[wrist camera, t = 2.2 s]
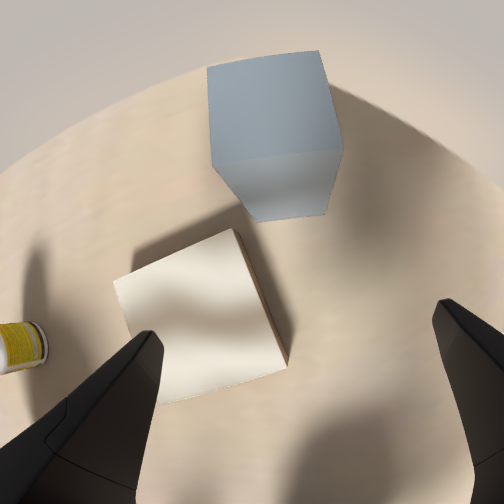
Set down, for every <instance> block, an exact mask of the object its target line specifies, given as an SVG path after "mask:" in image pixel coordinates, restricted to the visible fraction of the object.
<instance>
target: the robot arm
mask: <svg viewBox="0 0 504 504" xmlns="http://www.w3.org/2000/svg"><path fill="white" fill-rule="evenodd" d="M432 323H433V328H434V331H435V335H436V339H437V342H438V346H439V350H440V354H441V358H442V362H443V365H444V368H445V371H446V373H447V376H448V379H449V382H450V385H451V388H452V391H453V394H454V397H455V400H456V403H457V407H458V410H459V413H460V416H461V420H462V423H463V427H464V430H465V434H466V438H467V442H468V446H469V450H470V454H471V458H472V462H473V466H474V472H475V482H474V488H473V493H472V498H471V502H470V504H504V335H503V334H502V333H501V332H499V331H498V330H496V329H495V328H493V327H492V326H491V325H489V324H488V323H486V322H485V321H483V320H482V319H480V318H479V317H477V316H476V315H474V314H473V313H472V312H470V311H469V310H467V309H466V308H464V307H463V306H461V305H460V304H458V303H456V302H455V301H453V300H452V299H450V298H447V299H442V300H439V301H438V303H437V306H436V308H435V311H434V314H433V318H432ZM163 358H164V345H163V343H162V342H161V340H160V339H159V337H158V336H157V334H156V333H155V331H153V330H143V331H141V332H140V333H139V334H137V335H136V336H135V337H134V338H133V339H132V340H131V341H129V342H128V343H127V344H126V345H125V346H124V347H123V348H121V349H120V350H119V351H118V352H117V353H116V354H115V355H113V356H112V357H111V358H110V359H109V360H108V361H107V362H105V363H104V364H103V365H102V366H101V367H100V368H99V369H97V370H96V371H95V372H94V373H93V374H92V375H91V376H89V377H88V378H87V379H86V380H85V381H84V382H83V383H82V384H80V385H79V386H78V387H77V388H76V389H75V390H74V391H73V392H71V393H70V394H69V395H68V397H65V398H64V399H63V400H62V401H61V402H60V403H59V404H57V405H56V406H55V407H54V408H53V409H51V410H50V411H49V412H48V413H47V414H45V415H44V416H43V417H42V418H40V419H39V420H38V421H36V422H35V423H34V424H32V425H31V426H30V427H28V428H27V429H26V430H24V431H23V432H22V433H20V434H19V435H18V436H16V437H15V438H14V439H12V440H11V441H10V442H8V443H7V444H6V445H4V446H3V447H2V448H0V504H136V499H135V497H136V490H137V485H138V480H139V475H140V470H141V465H142V461H143V456H144V452H145V447H146V443H147V438H148V434H149V429H150V425H151V421H152V417H153V412H154V408H155V404H156V400H157V396H158V392H159V387H160V381H161V373H162V365H163Z"/></svg>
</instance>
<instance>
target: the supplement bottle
mask: <svg viewBox="0 0 504 504" xmlns="http://www.w3.org/2000/svg"><path fill="white" fill-rule="evenodd" d="M47 354H48V344H47V340H46V337H45V334H44V332H43V331H42V329H41V328H40V327H39V326H38V325H37V324H36V323H34V322H20V323H9V324H0V375H4V374H8V373H12V372H16V371H20V370H24V369H28V368H32V367H36V366H39V365H42V364H43V363H44V362H45V360H46V358H47Z"/></svg>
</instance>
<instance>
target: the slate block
mask: <svg viewBox="0 0 504 504" xmlns="http://www.w3.org/2000/svg"><path fill="white" fill-rule="evenodd" d="M207 83H208V105H209V124H210V142H211V158H212V166H213V168H214V169H215V170H216V171H217V173H218V174H219V175H220V176H221V178H222V179H223V180H224V181H225V183H226V184H227V185H228V186H229V188H230V189H231V190H232V191H233V193H234V194H235V195H236V196H237V198H238V199H239V200H240V201H241V203H242V204H243V205H244V206H245V208H246V209H247V210H248V211H249V213H250V214H251V215H252V217H253V218H254V219H255V220H256V222H257V223H259V222H267V221H275V220H283V219H291V218H300V217H308V216H317V215H325V212H326V208H327V205H328V202H329V198H330V195H331V192H332V188H333V185H334V181H335V178H336V174H337V171H338V167H339V164H340V160H341V157H342V153H343V149H344V146H343V142H342V137H341V133H340V129H339V124H338V120H337V116H336V112H335V108H334V104H333V100H332V96H331V92H330V89H329V85H328V81H327V78H326V74H325V71H324V67H323V64H322V60H321V57H320V54H319V51H308V52H297V53H288V54H280V55H273V56H265V57H259V58H252V59H246V60H241V61H235V62H230V63H225V64H220V65H216V66H211V67H207Z"/></svg>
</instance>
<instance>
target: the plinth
mask: <svg viewBox="0 0 504 504" xmlns="http://www.w3.org/2000/svg"><path fill="white" fill-rule="evenodd" d="M113 284H114V287H115V290H116V293H117V297H118V300H119V303H120V306H121V309H122V312H123V315H124V318H125V321H126V323H127V326H128V329H129V332H130V335H131V337H132V339H133V338H134V337H135V336H136V335H137V334H139V333H140V332H141V331H143V330H153V331H155V333H156V334H157V336H158V337H159V339H160V340H161V342H162V343H163V345H164V358H163V365H162V373H161V381H160V387H159V392H158V396H157V401H158V403H159V405H163V404H167V403H171V402H176V401H180V400H184V399H188V398H192V397H195V396H199V395H203V394H206V393H210V392H214V391H217V390H221V389H224V388H228V387H231V386H234V385H237V384H241V383H244V382H247V381H250V380H253V379H256V378H259V377H263V376H266V375H268V374H271V373H274V372H277V371H280V370H283V369H286V368H287V366H288V361H289V358H288V356H287V353H286V351H285V348H284V346H283V343H282V341H281V338H280V336H279V333H278V331H277V328H276V326H275V323H274V321H273V318H272V316H271V313H270V311H269V308H268V306H267V303H266V301H265V298H264V296H263V293H262V291H261V288H260V286H259V283H258V280H257V278H256V275H255V273H254V270H253V268H252V265H251V263H250V260H249V258H248V255H247V253H246V250H245V248H244V245H243V243H242V240H241V237H240V235H239V233H238V232H236V231H235V230H234V229H232V228H230V229H228V230H225V231H223V232H221V233H219V234H216V235H214V236H212V237H209V238H207V239H205V240H203V241H200V242H198V243H196V244H194V245H191V246H189V247H187V248H185V249H182V250H180V251H178V252H176V253H173V254H171V255H169V256H167V257H165V258H162V259H160V260H158V261H156V262H153V263H151V264H149V265H147V266H145V267H143V268H140V269H138V270H136V271H134V272H132V273H130V274H127V275H125V276H123V277H121V278H119V279H117V280H115V281H113Z"/></svg>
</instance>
